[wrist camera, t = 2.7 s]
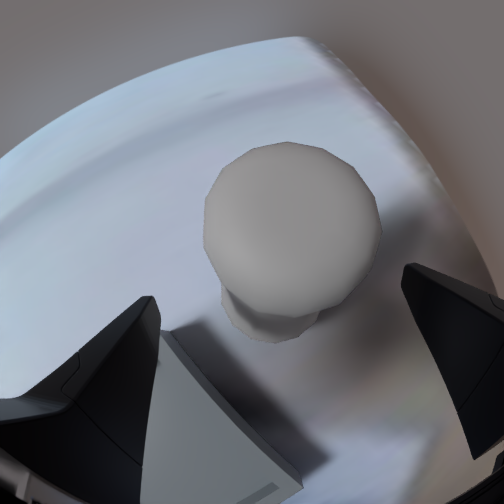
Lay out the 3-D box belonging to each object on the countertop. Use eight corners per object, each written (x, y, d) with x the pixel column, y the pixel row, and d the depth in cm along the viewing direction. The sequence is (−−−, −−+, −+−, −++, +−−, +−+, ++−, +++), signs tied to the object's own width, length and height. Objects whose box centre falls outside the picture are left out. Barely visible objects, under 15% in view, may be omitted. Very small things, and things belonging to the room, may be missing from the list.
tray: (298, 471, 14) (303, 487, 12) (165, 539, 12) (156, 555, 10) (169, 331, 18) (156, 329, 15) (57, 420, 15) (39, 425, 13)
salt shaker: (210, 277, 19) (128, 159, 6) (287, 239, 19) (326, 83, 7) (252, 358, 17) (236, 404, 5) (331, 315, 18) (461, 258, 5)
